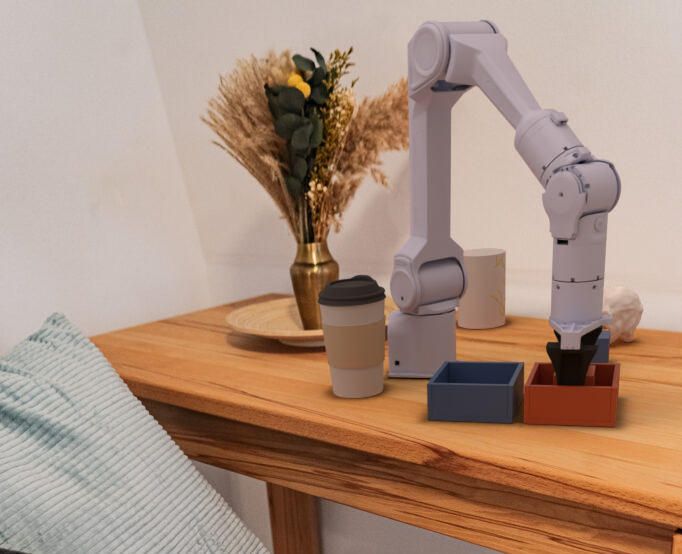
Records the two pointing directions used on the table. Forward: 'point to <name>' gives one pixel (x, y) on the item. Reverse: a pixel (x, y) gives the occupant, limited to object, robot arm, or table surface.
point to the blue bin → (476, 391)
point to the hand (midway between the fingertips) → (572, 394)
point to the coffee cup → (354, 335)
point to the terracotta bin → (571, 398)
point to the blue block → (602, 348)
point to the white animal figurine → (622, 312)
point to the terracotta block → (589, 377)
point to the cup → (483, 289)
